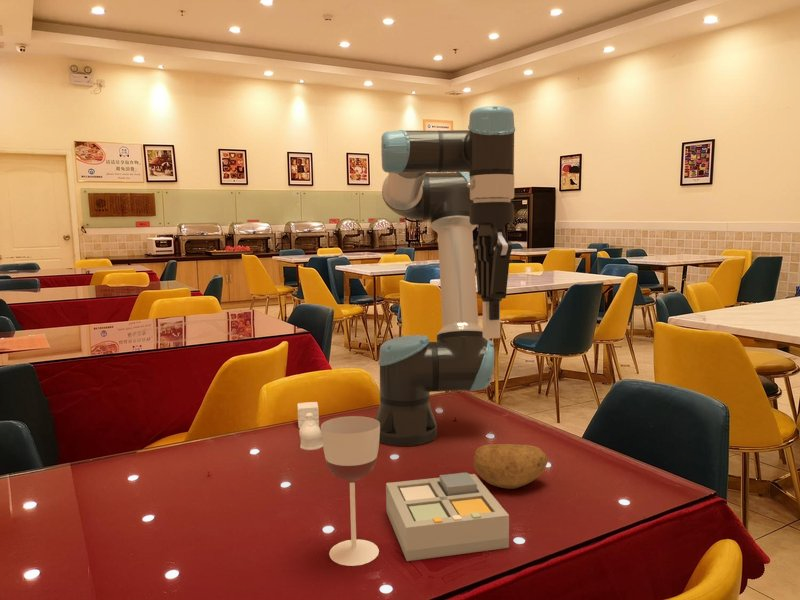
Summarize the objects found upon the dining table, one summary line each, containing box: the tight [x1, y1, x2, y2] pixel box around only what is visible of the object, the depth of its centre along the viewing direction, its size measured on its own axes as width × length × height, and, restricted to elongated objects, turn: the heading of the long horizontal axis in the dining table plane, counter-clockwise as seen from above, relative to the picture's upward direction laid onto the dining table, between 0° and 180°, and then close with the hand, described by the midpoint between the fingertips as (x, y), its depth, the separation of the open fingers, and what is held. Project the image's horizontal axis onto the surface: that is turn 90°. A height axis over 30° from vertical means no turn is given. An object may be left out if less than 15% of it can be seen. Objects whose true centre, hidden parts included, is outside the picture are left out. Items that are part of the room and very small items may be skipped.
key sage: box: [409, 503, 448, 521], centre depth 93 cm, size 5×5×3 cm
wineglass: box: [320, 415, 380, 567], centre depth 90 cm, size 8×9×20 cm
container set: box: [296, 401, 323, 451], centre depth 144 cm, size 20×5×6 cm, turn 11°
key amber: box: [451, 498, 491, 516], centre depth 95 cm, size 5×5×3 cm
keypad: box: [385, 473, 510, 562], centre depth 98 cm, size 16×16×6 cm
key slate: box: [438, 471, 477, 496], centre depth 101 cm, size 5×5×3 cm
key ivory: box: [400, 485, 435, 501], centre depth 100 cm, size 5×5×3 cm
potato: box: [473, 443, 549, 490], centre depth 114 cm, size 10×14×8 cm
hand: (491, 337), depth 106 cm, fingers closed
